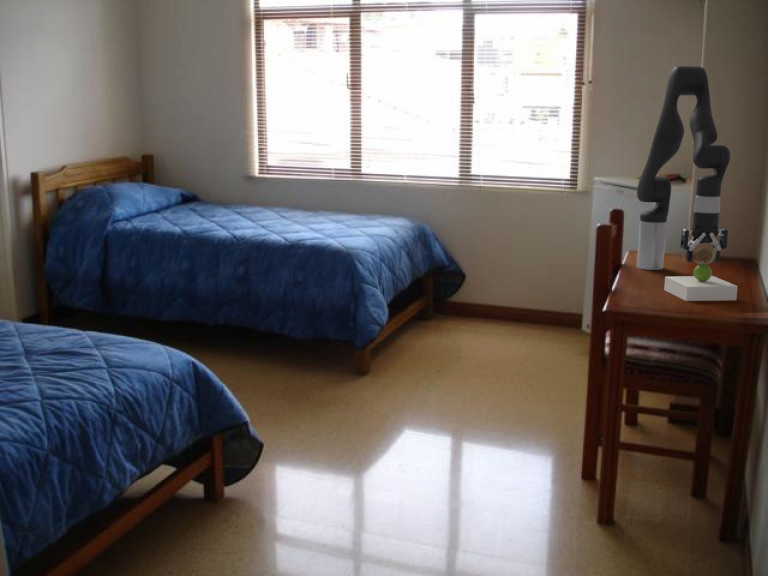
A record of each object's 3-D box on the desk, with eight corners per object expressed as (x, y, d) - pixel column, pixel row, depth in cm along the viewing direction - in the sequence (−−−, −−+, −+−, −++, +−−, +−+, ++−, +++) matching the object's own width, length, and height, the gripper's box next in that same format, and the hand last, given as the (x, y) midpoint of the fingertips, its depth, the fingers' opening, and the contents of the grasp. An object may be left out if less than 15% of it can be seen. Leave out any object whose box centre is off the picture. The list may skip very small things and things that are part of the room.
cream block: (664, 291, 265) (665, 276, 264) (711, 290, 267) (712, 275, 266) (685, 302, 250) (687, 286, 249) (736, 302, 251) (737, 286, 250)
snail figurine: (715, 283, 254) (718, 245, 251) (693, 282, 256) (696, 244, 253) (714, 280, 259) (717, 242, 256) (692, 278, 261) (695, 241, 258)
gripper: (722, 209, 257) (718, 259, 260) (679, 209, 255) (674, 260, 259) (734, 211, 249) (729, 264, 253) (690, 212, 248) (685, 264, 252)
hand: (702, 262), depth 256 cm, fingers open, 8 cm apart
